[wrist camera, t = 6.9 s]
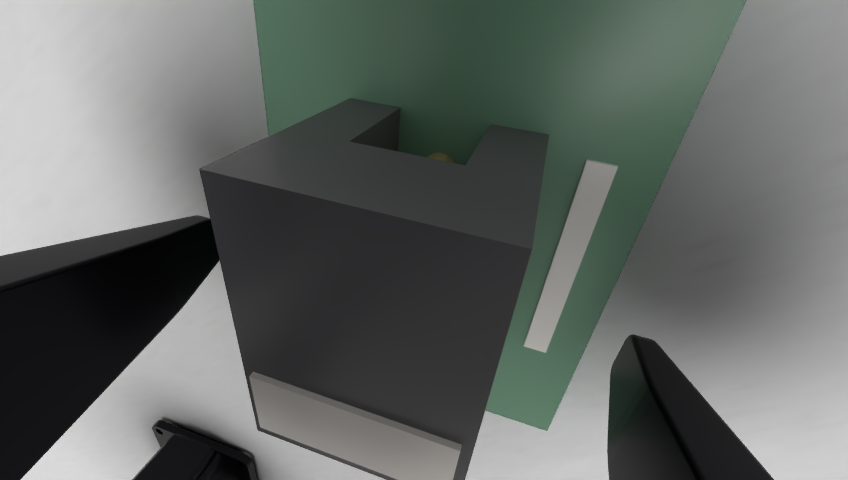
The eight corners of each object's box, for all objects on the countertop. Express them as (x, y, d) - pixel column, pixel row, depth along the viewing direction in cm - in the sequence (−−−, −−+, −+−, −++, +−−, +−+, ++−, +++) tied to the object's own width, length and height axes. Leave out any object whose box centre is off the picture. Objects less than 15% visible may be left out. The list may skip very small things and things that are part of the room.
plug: (493, 341, 11) (455, 512, 8) (351, 300, 12) (254, 435, 8) (549, 134, 8) (530, 255, 4) (350, 98, 9) (192, 172, 5)
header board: (548, 399, 14) (543, 495, 11) (310, 323, 15) (256, 391, 13) (732, -25, 7) (828, -35, 4) (280, -71, 9) (158, -98, 6)
